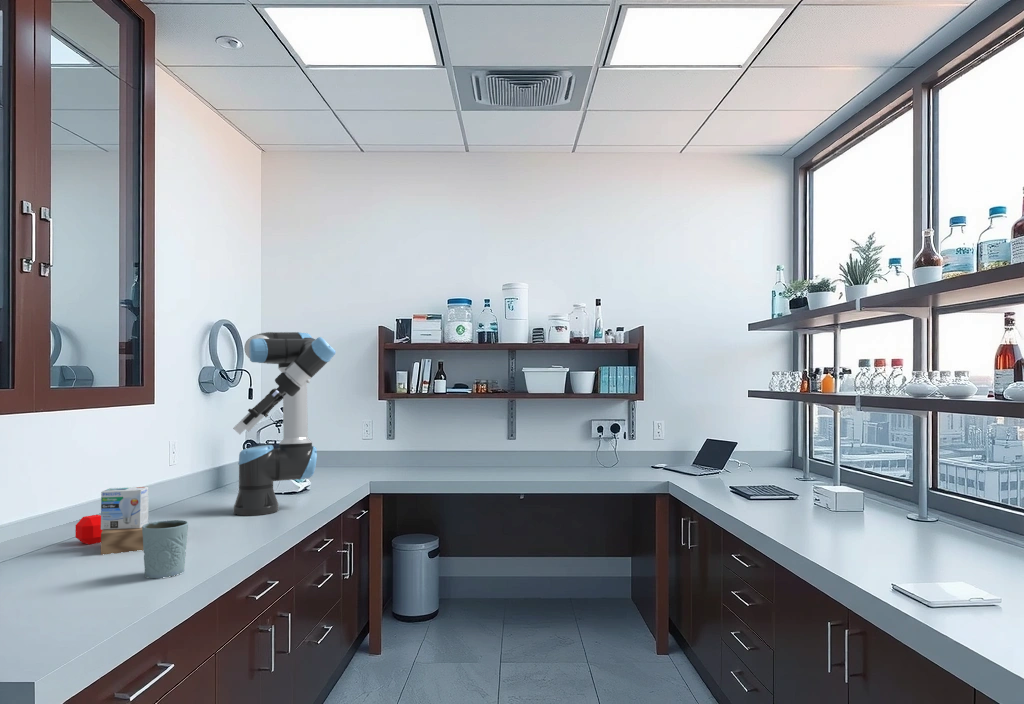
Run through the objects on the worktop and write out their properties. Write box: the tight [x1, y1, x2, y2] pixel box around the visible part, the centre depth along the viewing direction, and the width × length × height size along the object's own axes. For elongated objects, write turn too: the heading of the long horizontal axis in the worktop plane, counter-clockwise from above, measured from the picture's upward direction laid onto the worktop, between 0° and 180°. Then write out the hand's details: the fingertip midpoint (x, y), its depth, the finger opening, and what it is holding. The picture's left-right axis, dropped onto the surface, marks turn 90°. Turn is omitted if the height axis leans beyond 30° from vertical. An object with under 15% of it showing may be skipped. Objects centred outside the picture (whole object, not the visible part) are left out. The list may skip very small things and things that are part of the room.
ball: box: [74, 514, 103, 546], centre depth 210 cm, size 8×8×8 cm
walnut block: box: [100, 527, 144, 556], centre depth 203 cm, size 11×14×6 cm
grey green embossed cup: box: [142, 519, 189, 579], centre depth 172 cm, size 10×10×12 cm
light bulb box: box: [100, 486, 149, 530], centre depth 203 cm, size 11×7×11 cm, turn 100°
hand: (241, 430), depth 216 cm, fingers open, 13 cm apart
